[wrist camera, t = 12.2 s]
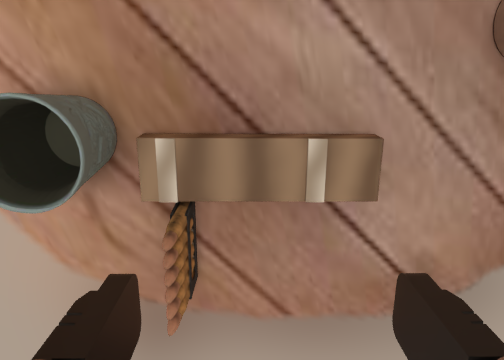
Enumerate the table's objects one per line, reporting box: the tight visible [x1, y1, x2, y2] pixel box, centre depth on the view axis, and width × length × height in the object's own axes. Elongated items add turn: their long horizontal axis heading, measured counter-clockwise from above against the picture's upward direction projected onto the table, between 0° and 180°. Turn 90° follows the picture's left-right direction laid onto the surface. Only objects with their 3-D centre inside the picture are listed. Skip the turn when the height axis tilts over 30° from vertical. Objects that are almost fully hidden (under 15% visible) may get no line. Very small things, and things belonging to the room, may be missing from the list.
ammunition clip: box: [162, 201, 198, 336], centre depth 40 cm, size 11×2×12 cm, turn 0°
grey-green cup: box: [0, 93, 117, 213], centre depth 36 cm, size 10×10×12 cm
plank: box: [136, 134, 384, 202], centre depth 42 cm, size 26×7×3 cm, turn 90°
